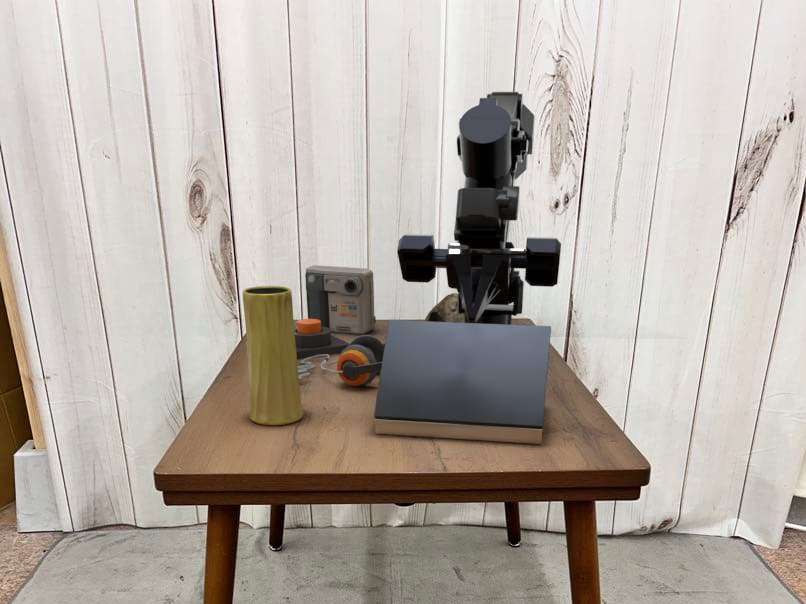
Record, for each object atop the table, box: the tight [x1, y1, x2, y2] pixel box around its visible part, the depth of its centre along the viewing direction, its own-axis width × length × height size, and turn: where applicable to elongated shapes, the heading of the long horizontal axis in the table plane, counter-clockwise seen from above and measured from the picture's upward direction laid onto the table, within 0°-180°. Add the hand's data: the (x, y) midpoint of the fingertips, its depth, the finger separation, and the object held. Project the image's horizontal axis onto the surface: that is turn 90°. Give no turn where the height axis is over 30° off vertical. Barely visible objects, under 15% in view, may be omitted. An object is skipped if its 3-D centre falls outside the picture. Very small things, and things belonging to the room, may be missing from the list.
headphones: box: [297, 334, 385, 387], centre depth 103 cm, size 17×5×20 cm
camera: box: [304, 264, 377, 335], centre depth 128 cm, size 11×6×10 cm, turn 67°
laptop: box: [374, 419, 544, 445], centre depth 89 cm, size 12×18×2 cm, turn 80°
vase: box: [242, 285, 304, 426], centre depth 87 cm, size 6×6×14 cm
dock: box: [294, 326, 350, 360], centre depth 117 cm, size 10×8×3 cm
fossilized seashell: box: [424, 292, 465, 323], centre depth 129 cm, size 8×7×10 cm
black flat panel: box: [373, 319, 552, 429], centre depth 85 cm, size 12×18×1 cm
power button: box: [295, 318, 321, 334], centre depth 116 cm, size 4×4×2 cm
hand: (471, 321), depth 89 cm, fingers closed
